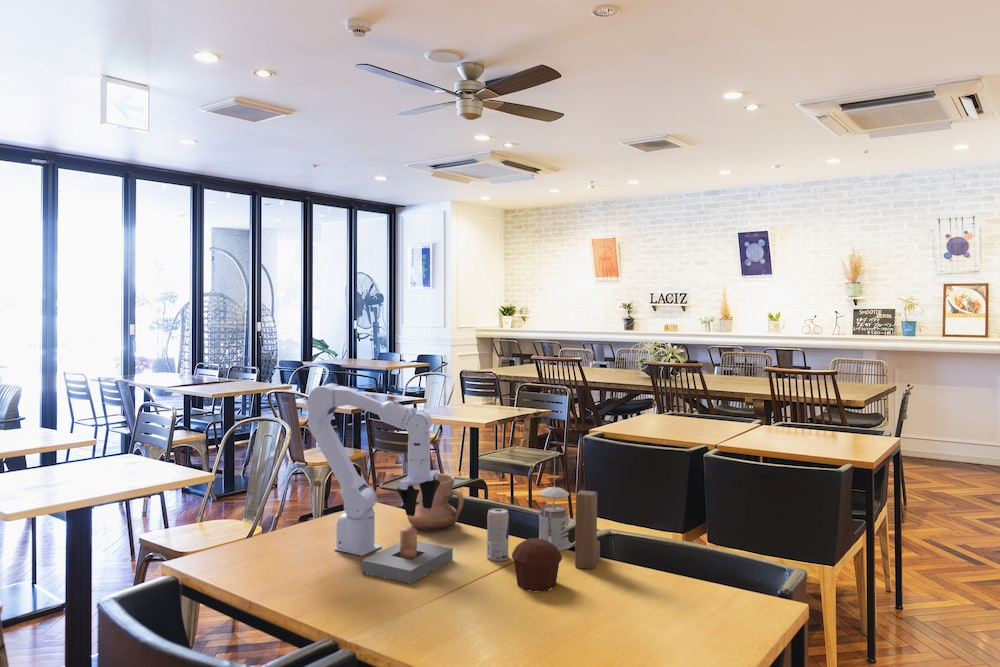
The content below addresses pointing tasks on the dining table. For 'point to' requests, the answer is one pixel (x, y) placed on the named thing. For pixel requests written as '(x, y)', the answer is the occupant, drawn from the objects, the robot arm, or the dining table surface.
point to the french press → (554, 517)
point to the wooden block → (586, 530)
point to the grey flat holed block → (407, 562)
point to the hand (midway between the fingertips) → (419, 511)
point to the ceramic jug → (437, 506)
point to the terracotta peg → (408, 543)
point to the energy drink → (497, 534)
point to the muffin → (536, 564)
